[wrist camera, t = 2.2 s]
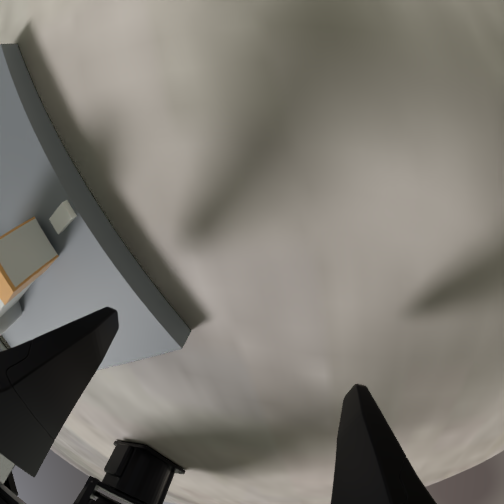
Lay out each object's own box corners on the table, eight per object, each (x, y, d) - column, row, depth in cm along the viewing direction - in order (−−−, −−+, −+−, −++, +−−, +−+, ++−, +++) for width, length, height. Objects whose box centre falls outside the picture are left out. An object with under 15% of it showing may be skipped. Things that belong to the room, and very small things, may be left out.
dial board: (191, 330, 13) (179, 353, 12) (46, 373, 21) (38, 382, 20) (17, 43, 7) (-4, 44, 6) (-49, 227, 15) (-59, 233, 14)
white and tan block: (15, 321, 15) (-9, 345, 12) (-11, 281, 14) (-37, 303, 11) (67, 269, 11) (23, 306, 8) (27, 203, 10) (-22, 231, 7)
